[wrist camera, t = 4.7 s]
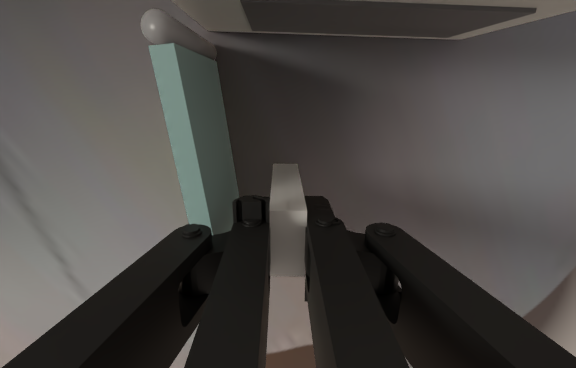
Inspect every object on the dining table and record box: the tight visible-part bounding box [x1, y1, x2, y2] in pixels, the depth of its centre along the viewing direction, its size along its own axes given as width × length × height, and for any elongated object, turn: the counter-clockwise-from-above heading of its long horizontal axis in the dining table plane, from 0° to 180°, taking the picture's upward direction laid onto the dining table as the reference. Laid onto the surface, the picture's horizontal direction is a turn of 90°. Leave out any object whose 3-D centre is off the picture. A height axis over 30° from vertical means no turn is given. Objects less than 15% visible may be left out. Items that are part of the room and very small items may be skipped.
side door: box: [141, 9, 239, 235], centre depth 15 cm, size 12×2×8 cm, turn 6°
